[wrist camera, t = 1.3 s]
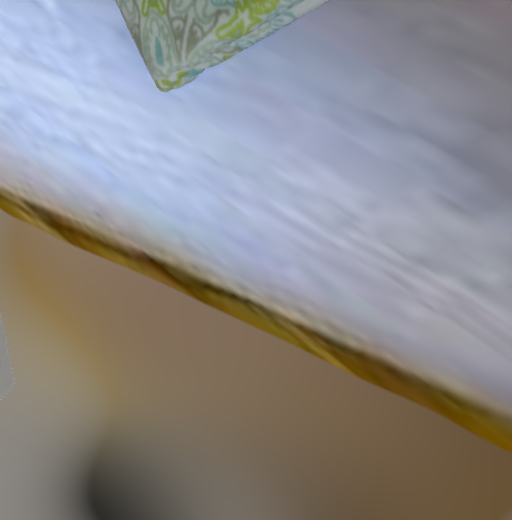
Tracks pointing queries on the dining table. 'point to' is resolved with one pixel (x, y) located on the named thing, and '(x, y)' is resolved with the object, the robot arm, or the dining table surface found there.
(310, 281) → the dining table surface
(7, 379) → the robot arm
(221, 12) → the towel
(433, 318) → the dining table surface
